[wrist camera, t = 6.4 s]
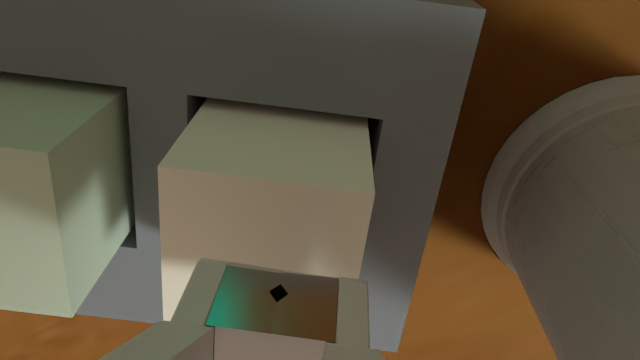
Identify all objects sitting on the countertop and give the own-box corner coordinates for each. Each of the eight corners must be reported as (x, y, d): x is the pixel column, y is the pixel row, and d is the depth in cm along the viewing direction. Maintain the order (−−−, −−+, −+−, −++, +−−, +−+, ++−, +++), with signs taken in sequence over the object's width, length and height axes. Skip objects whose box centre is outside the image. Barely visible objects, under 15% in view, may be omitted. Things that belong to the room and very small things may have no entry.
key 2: (364, 90, 15) (375, 193, 9) (345, 209, 17) (345, 350, 11) (225, 72, 15) (157, 166, 9) (221, 193, 16) (163, 328, 11)
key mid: (155, 64, 15) (47, 152, 9) (159, 186, 16) (72, 317, 11) (15, 46, 14) (-176, 124, 9) (35, 170, 16) (-113, 295, 11)
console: (445, -20, 15) (486, 9, 11) (385, 253, 20) (397, 352, 15) (-239, -110, 15) (-488, -117, 10) (-135, 189, 19) (-275, 272, 15)
